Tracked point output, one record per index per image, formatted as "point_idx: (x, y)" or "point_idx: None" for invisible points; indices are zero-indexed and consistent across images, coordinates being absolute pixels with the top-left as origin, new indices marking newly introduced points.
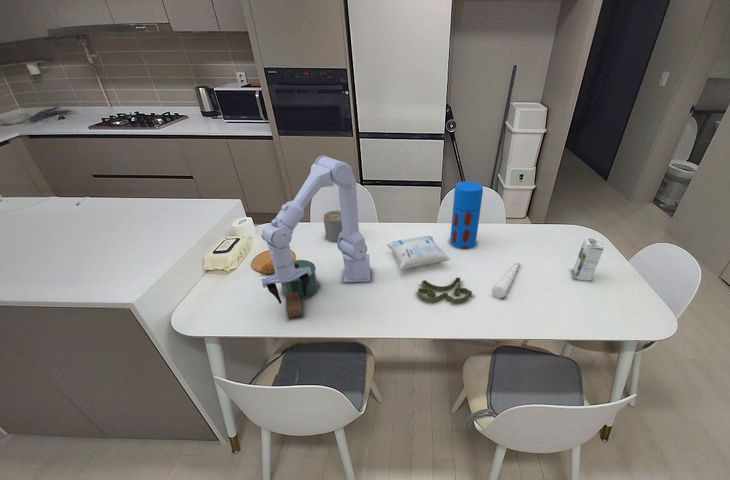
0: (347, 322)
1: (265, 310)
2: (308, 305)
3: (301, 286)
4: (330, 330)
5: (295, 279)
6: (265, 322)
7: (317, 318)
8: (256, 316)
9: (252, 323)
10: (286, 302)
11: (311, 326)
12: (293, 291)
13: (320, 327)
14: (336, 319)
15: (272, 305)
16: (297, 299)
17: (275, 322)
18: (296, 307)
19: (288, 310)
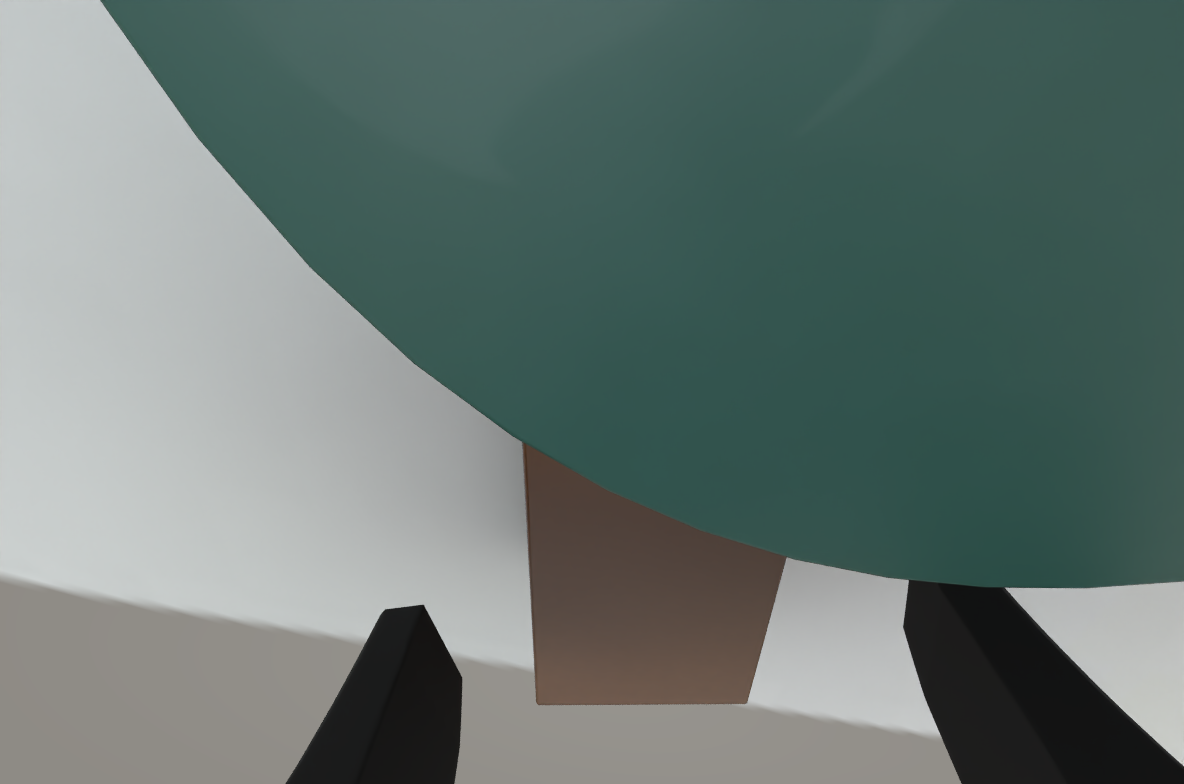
0: (1139, 696)
1: (133, 297)
2: None
3: (1011, 753)
4: (934, 732)
5: (1011, 533)
6: (231, 524)
7: (885, 601)
8: (33, 393)
9: (45, 502)
10: (539, 575)
11: (781, 670)
12: None
13: (862, 694)
14: (1069, 650)
15: (226, 194)
16: (751, 550)
17: (370, 550)
18: (694, 687)
19: (568, 704)
